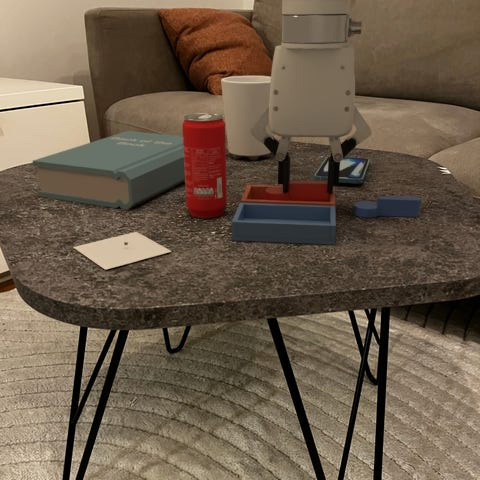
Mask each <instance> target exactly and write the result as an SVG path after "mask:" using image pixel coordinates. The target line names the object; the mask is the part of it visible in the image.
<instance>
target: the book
mask: <svg viewBox="0 0 480 480" xmlns="http://www.w3.org/2000/svg"><path fill="white" fill-rule="evenodd" d="M31 162H32V166H33V167H36V170H37V176H38V182H39V189H40V190H38V191H37V195H38V197H40V198H46V199H47V198H48V199H52V200H53V199H55V200H60V201H67V202H74V203H80V204H86V205H93V206H99V207H105V208H113V209H118V208H120V209H121V210H125V211H128V210H130V209H132V208H134V207H136V206H138V205H140V204H142V203H144V202H147V201H148V200H150V199H152V198H154V197H156V196H159V195H161V194H163V193H164V192H166V191H168V190H171V189H172V188H174V187H176V186H178V185H180V184H183V183H185V167H184V148H183V135H174V134H164V133H162V134H161V133H153V132H151V133H150V132H142V131H141V132H140V131H130V130H126V131H123V132H119V133H117V134H114V135H113V134H112V135H111V136H107V137H104V138H100V139H97V140H95V141H91V142H88V143H85V144H82V145H78V146H76V147H72V148H69V149H66V150H62V151H59V152H56V153H52V154H49V155H47V156H43V157H39V158H37V159H33V160H32V161H31Z"/></svg>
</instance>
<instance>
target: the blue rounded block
mask: <svg viewBox="0 0 480 480" xmlns="http://www.w3.org/2000/svg"><path fill="white" fill-rule="evenodd" d="M421 199H422V198H421V197H420V196H398V195H397V196H394V195H377V201H372V200H359V201H355V202H354V203H353V208H352V214H353V215H354V216H356V217H359V218H363V219H364V218H365V219H366V218H367V219H371V218H377V217H407V218H419V217H420V211H421V205H422V204H421V203H422V200H421Z"/></svg>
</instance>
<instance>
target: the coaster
mask: <svg viewBox="0 0 480 480" xmlns="http://www.w3.org/2000/svg"><path fill="white" fill-rule="evenodd" d="M72 248H73V249H75V250H76V251H78V252H79V253H80V254H82V255H83V256H85V257H86V258H88V259H89V260H91V261H92V262H93V263H95V264H96V265H98V266H99V267H100V268H102V269H104V270H105V271H106V270H109V269H113V268H117V267H120V266H124V265H129V264H132V263H135V262H140V261H142V260H145V259H150V258H154V257H157V256H161V255H165V254H167V253H171V252H173V251H172V250H170V249H169V248H167V247H165V246H163V245H161V244H160V243H157V242H155V241H154V240H152V239H150V238H148V237H146V236H145V235H143V234H141V233H139V232H138V231H134V232H130V233H126V234H121V235H118V236H113V237H109V238H106V239H101V240H95V241H93V242H89V243H84V244H81V245H77V246H76V245H75V246H73V247H72Z"/></svg>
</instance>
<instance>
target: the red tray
mask: <svg viewBox="0 0 480 480" xmlns="http://www.w3.org/2000/svg"><path fill="white" fill-rule="evenodd" d="M274 186H275V185H265V184H247V186H246V188H245V189H244V193H243V195H242V197H241V199H240V203H266V204H295V205H325V206H335V207H336V188H335V186H333V194H329V200H328V201H316V200H289V201H279V200H265V189H267V188H269V187H274Z"/></svg>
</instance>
